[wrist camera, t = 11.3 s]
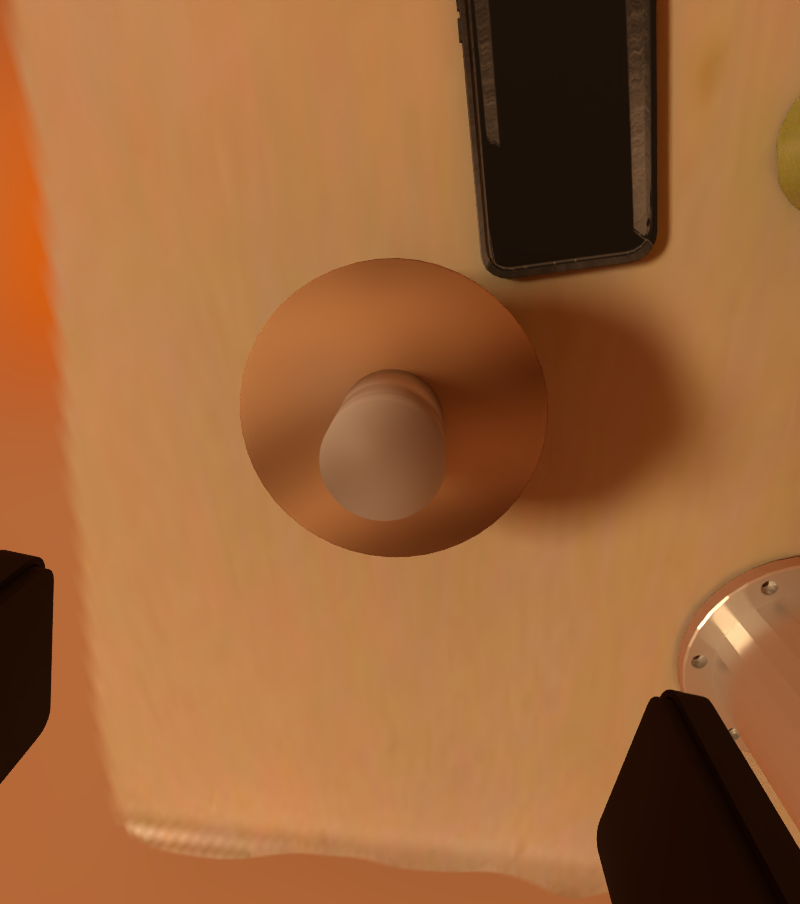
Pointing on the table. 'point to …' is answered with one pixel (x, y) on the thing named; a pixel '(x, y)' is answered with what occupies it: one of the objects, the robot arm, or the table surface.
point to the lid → (393, 407)
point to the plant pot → (790, 155)
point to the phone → (561, 131)
